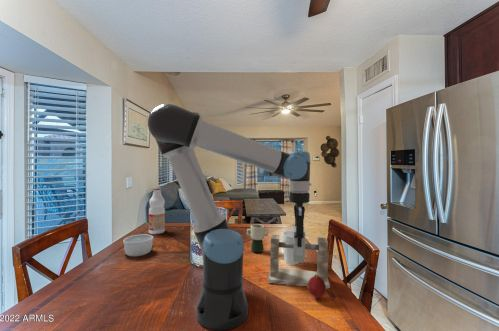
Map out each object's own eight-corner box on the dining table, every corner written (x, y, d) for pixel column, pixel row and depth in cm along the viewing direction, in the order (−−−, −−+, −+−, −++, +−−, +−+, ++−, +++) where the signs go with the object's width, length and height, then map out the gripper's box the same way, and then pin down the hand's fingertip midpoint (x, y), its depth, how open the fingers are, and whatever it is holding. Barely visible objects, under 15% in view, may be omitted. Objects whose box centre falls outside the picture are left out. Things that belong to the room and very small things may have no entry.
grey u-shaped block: (293, 261, 88) (294, 231, 88) (293, 253, 96) (293, 226, 96) (304, 262, 87) (305, 232, 87) (303, 254, 95) (303, 226, 95)
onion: (312, 291, 84) (312, 268, 84) (328, 297, 80) (328, 273, 80) (304, 298, 79) (305, 274, 79) (321, 305, 75) (321, 280, 75)
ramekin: (131, 260, 107) (131, 244, 107) (118, 253, 115) (118, 238, 115) (158, 251, 118) (158, 237, 118) (144, 245, 126) (144, 232, 126)
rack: (268, 283, 89) (269, 240, 88) (270, 271, 98) (270, 232, 98) (329, 289, 85) (330, 244, 85) (325, 276, 95) (326, 236, 95)
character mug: (268, 249, 124) (268, 224, 123) (268, 254, 116) (268, 228, 116) (247, 248, 124) (247, 223, 124) (245, 253, 117) (246, 227, 117)
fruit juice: (160, 234, 144) (160, 188, 144) (145, 234, 145) (146, 188, 145) (167, 230, 154) (167, 187, 153) (153, 229, 155) (153, 186, 154)
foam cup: (278, 263, 106) (278, 234, 106) (285, 256, 114) (285, 229, 114) (299, 268, 102) (299, 238, 101) (304, 260, 110) (305, 232, 110)
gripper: (312, 195, 80) (311, 262, 81) (307, 189, 101) (306, 242, 101) (289, 195, 82) (288, 261, 82) (289, 188, 102) (288, 241, 103)
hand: (298, 250), depth 92 cm, fingers closed on grey u-shaped block, 8 cm apart
